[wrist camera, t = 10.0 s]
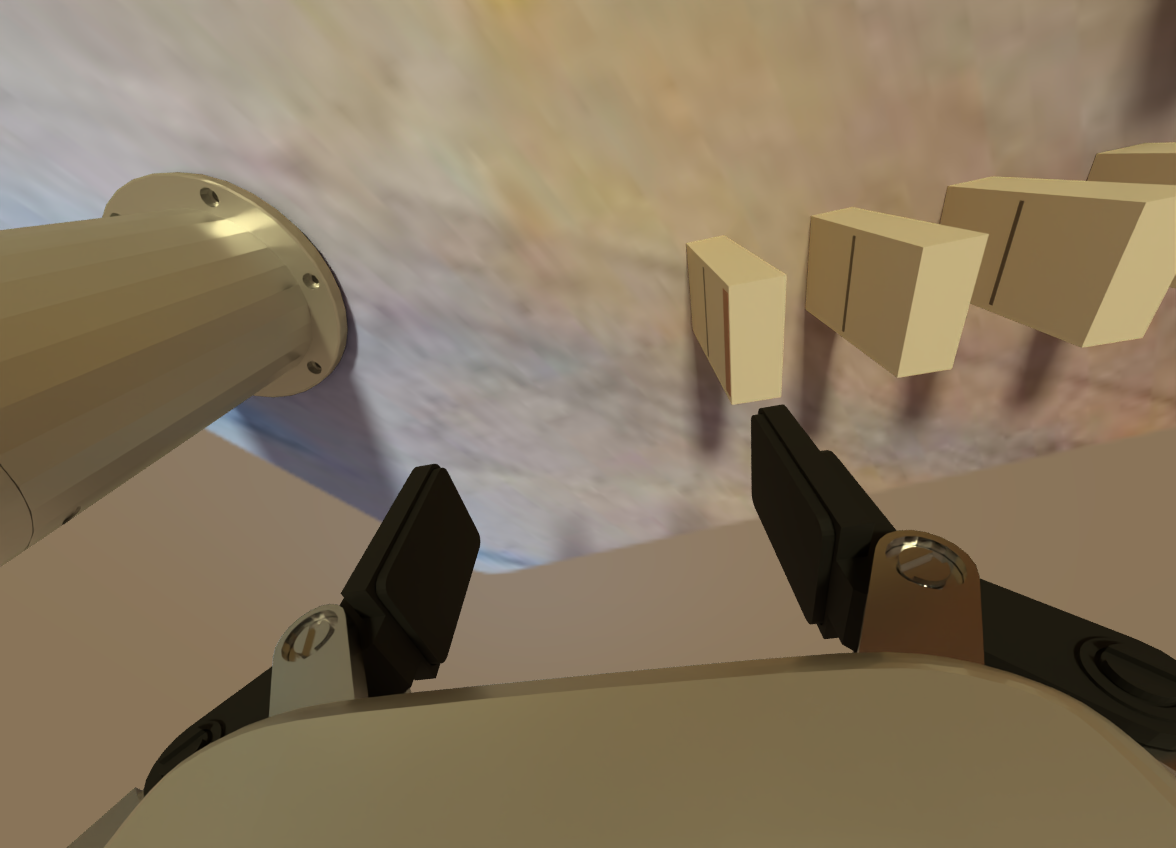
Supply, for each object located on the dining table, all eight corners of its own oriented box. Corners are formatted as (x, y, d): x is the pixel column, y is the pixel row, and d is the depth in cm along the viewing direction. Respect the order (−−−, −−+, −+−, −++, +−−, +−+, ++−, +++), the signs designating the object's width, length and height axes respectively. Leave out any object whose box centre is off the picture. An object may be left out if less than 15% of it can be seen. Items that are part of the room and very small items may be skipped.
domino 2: (804, 309, 24) (896, 377, 17) (810, 216, 22) (922, 247, 14) (841, 302, 24) (952, 368, 16) (852, 207, 21) (989, 233, 14)
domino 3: (925, 286, 23) (1081, 347, 16) (947, 186, 21) (1145, 202, 13) (965, 278, 23) (1143, 337, 16) (992, 176, 21) (1221, 187, 13)
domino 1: (692, 330, 25) (731, 404, 18) (685, 243, 23) (728, 286, 15) (726, 324, 25) (781, 396, 17) (724, 235, 22) (787, 274, 15)
